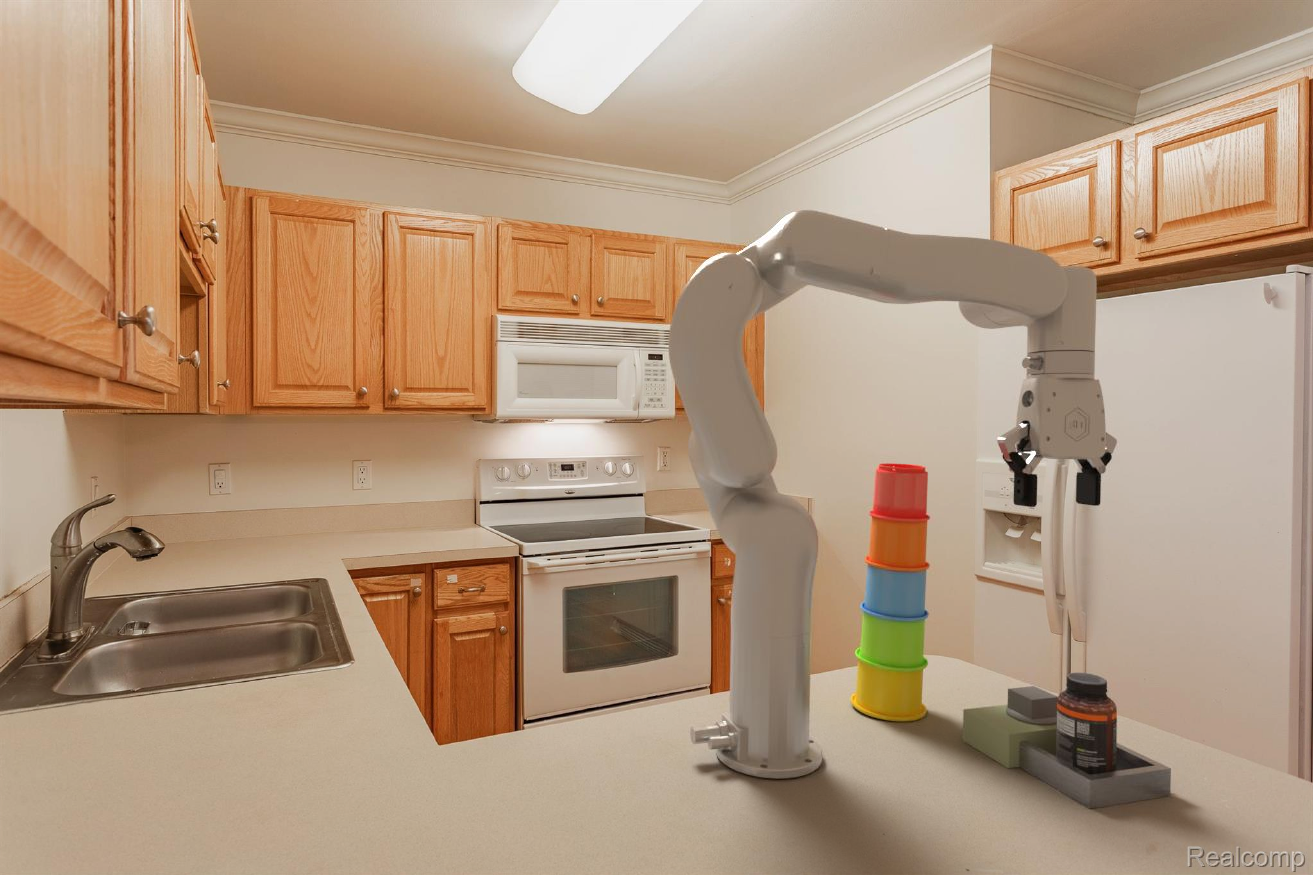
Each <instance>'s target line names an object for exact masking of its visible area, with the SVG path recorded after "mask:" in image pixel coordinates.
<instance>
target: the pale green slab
mask: <svg viewBox="0 0 1313 875" xmlns="http://www.w3.org/2000/svg"><path fill="white" fill-rule="evenodd" d="M1057 699H1058V696H1057V695H1055V694H1052V693H1051V692H1048V691H1046V690H1044V689H1041V688H1039V687H1037V686H1035V685H1033V686H1023V687H1012V688H1007V704H1000V705H993V706H983V707H982V706H981V707H974V708H971V707H970V708H964V709H963V710H962V711H963V712H962V715H963V718H962V720H963V721H962V741H963V742H965V744H968V746H971V747H972V748H975V749H976V750H977V751H979V752H981V753H983V754H984V755H986V756H987V757H988V758H990V759H992V760H994V761H995V762H997V763H999V764H1001V765H1002V766H1004V767H1006V769H1007V768H1008V769H1012V768H1020V767H1019V746H1020V741H1028V742H1030V743H1032V744H1034V745H1036V746H1037V747H1039V748H1041V749H1043V750H1045V751H1047V752H1048V753H1050V754H1052V755H1054V756H1056V757H1057Z"/></svg>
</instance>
